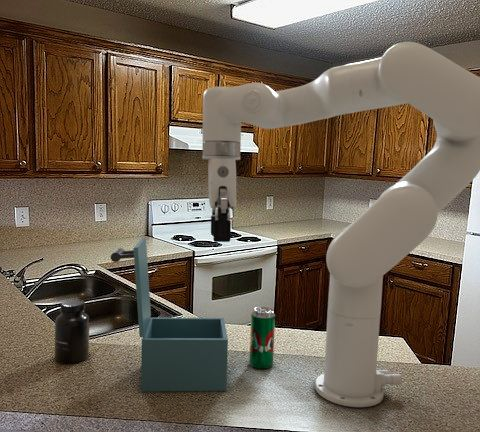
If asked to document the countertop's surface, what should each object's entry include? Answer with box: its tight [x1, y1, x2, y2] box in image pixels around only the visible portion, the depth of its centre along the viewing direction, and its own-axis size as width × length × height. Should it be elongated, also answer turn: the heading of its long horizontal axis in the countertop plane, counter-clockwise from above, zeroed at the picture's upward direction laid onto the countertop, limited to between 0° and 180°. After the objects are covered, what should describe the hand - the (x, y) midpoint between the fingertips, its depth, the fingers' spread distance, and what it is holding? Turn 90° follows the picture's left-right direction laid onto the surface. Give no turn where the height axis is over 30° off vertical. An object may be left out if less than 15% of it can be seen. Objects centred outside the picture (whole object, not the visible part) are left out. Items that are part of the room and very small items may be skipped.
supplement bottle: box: [54, 299, 90, 365], centre depth 95 cm, size 7×7×12 cm
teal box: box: [140, 317, 229, 393], centre depth 89 cm, size 16×13×10 cm
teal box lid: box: [110, 237, 152, 338], centre depth 87 cm, size 16×13×6 cm
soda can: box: [249, 306, 276, 370], centre depth 95 cm, size 5×5×12 cm
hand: (220, 238), depth 91 cm, fingers open, 9 cm apart
